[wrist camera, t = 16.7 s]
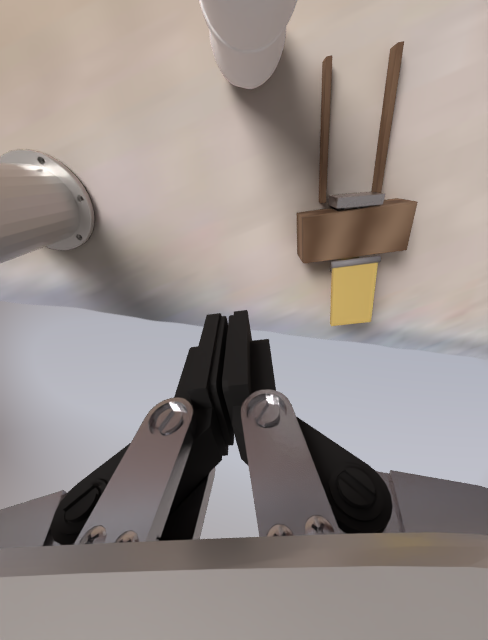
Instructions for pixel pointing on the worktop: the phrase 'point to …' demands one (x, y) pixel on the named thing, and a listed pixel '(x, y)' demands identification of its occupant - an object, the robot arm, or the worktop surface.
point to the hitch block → (376, 220)
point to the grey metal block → (354, 205)
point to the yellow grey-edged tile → (353, 290)
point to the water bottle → (247, 37)
